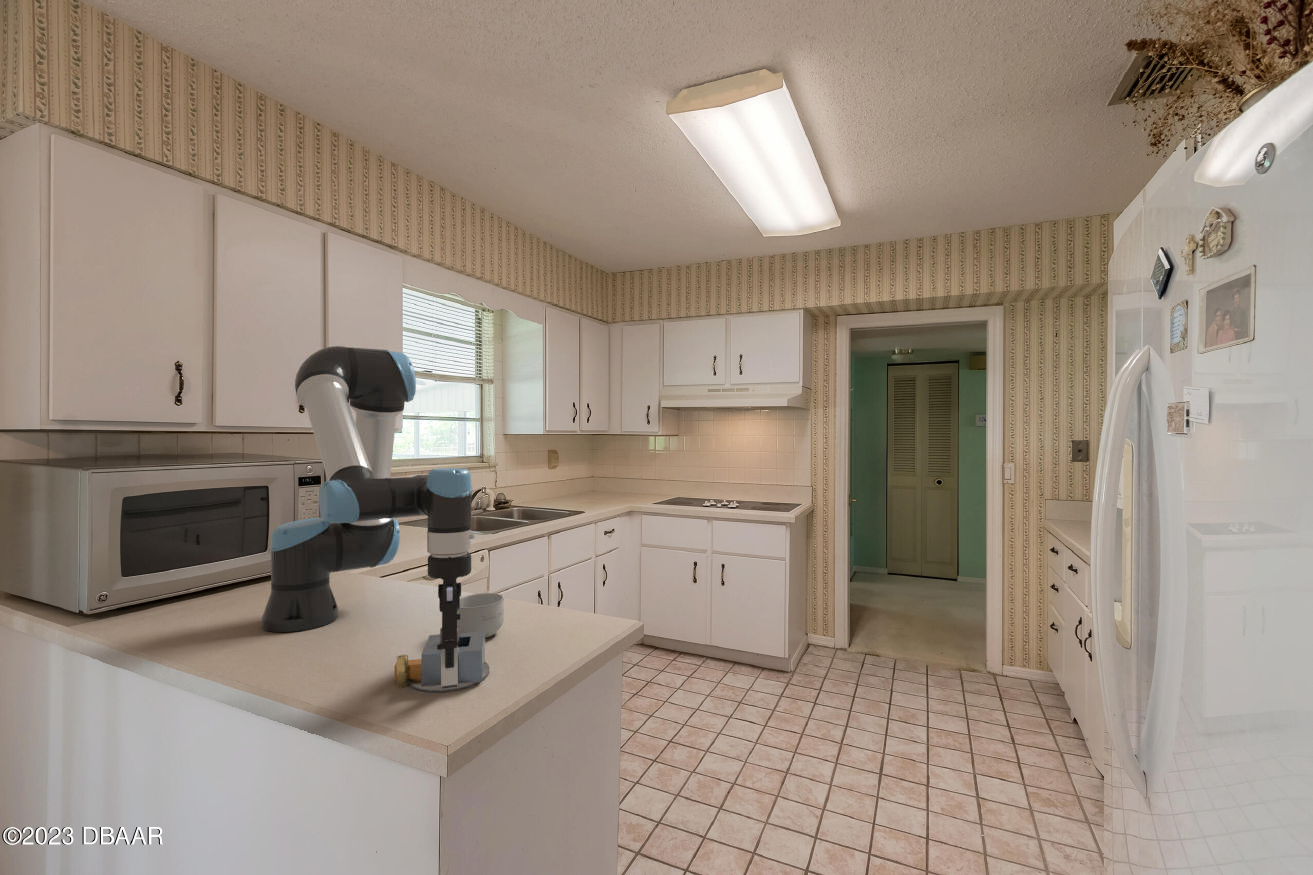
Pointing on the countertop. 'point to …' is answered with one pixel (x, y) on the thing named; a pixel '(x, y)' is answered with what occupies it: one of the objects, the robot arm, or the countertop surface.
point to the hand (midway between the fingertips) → (449, 669)
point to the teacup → (481, 613)
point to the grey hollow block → (468, 660)
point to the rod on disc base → (437, 688)
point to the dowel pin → (402, 670)
